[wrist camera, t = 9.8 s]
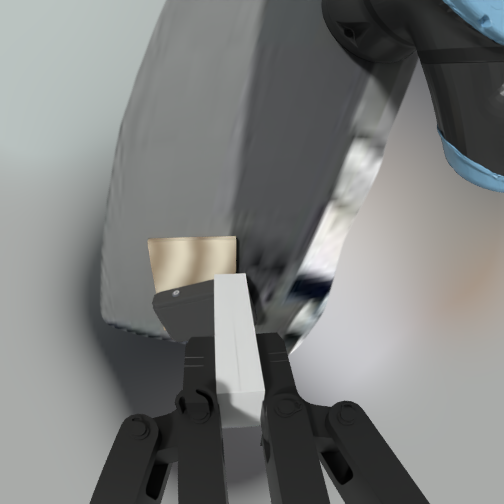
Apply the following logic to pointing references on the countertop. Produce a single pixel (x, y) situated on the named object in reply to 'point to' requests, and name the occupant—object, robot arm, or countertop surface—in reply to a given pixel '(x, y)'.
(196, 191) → the countertop surface
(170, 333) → the card reader
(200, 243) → the birch board
